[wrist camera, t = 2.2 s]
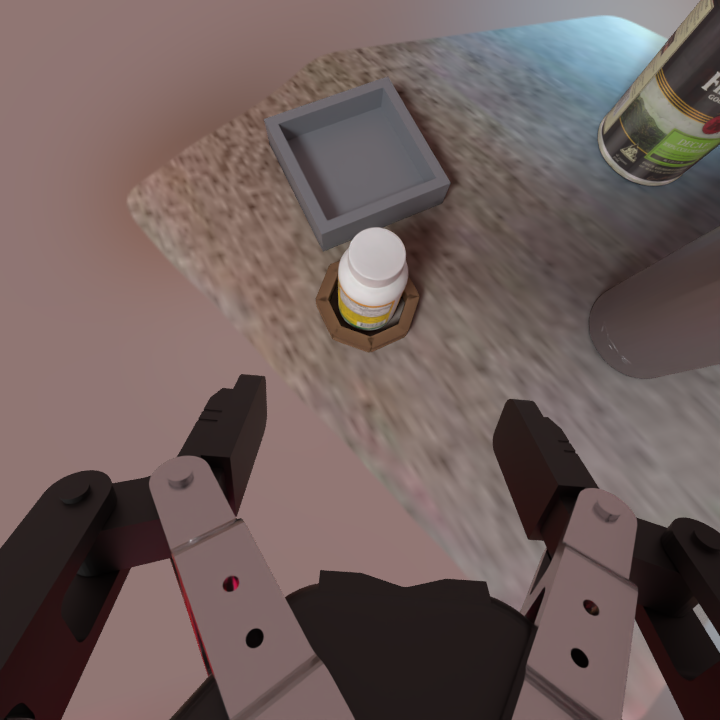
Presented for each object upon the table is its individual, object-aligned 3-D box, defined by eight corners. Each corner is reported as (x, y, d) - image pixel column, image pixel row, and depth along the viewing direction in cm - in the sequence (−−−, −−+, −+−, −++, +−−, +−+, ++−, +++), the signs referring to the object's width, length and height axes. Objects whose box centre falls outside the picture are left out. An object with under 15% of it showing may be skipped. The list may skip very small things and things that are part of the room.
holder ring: (387, 248, 37) (389, 239, 35) (429, 325, 35) (432, 320, 34) (305, 282, 36) (303, 275, 34) (344, 364, 34) (344, 360, 33)
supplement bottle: (368, 343, 35) (379, 306, 25) (325, 304, 35) (321, 254, 26) (407, 303, 36) (431, 252, 26) (365, 266, 36) (374, 204, 27)
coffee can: (694, 192, 40) (879, 60, 26) (598, 180, 40) (735, 41, 26) (685, 111, 42) (850, -49, 29) (594, 99, 42) (718, -68, 28)
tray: (384, 103, 41) (388, 76, 38) (442, 203, 38) (450, 182, 35) (269, 143, 39) (263, 119, 36) (323, 251, 36) (321, 234, 33)
